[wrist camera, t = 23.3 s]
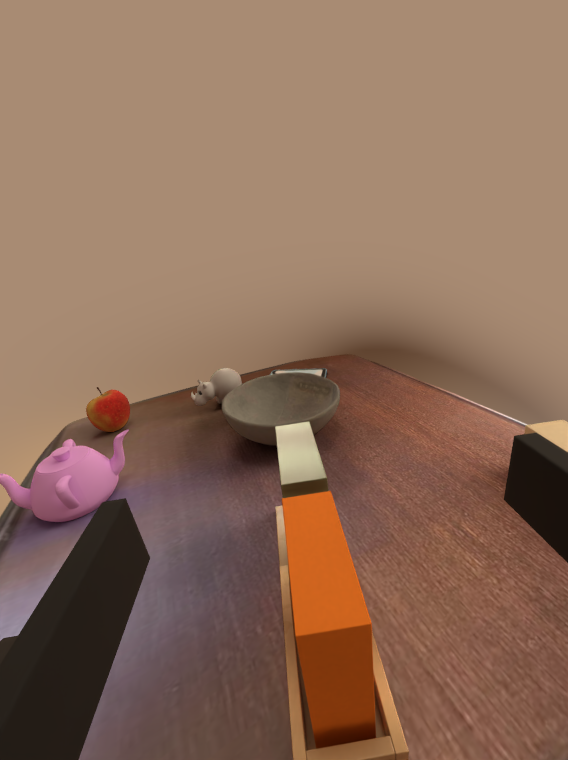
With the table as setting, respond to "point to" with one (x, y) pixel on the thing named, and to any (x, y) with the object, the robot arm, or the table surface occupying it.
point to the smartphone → (303, 371)
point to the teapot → (69, 482)
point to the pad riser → (551, 432)
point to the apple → (109, 411)
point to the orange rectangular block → (329, 622)
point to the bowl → (280, 404)
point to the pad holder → (298, 477)
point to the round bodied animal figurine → (217, 386)
